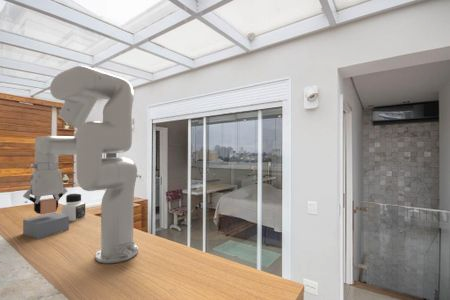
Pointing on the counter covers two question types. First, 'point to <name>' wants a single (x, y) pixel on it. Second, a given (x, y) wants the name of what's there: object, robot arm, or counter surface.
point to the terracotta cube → (47, 205)
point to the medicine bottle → (73, 207)
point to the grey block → (45, 225)
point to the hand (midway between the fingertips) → (46, 210)
